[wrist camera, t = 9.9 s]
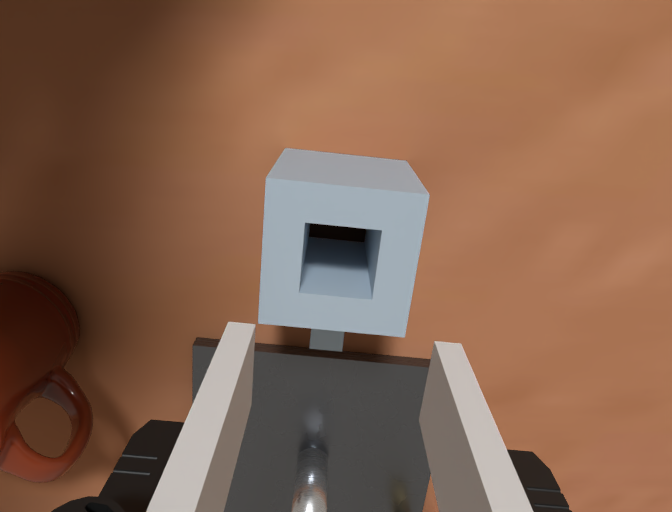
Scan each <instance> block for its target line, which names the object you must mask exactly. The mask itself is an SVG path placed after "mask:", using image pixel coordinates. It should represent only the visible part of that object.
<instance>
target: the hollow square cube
mask: <svg viewBox="0 0 672 512" xmlns="http://www.w3.org/2000/svg"><path fill="white" fill-rule="evenodd" d="M429 196H430V194H429V193H428V191H427V190H426V189H425V187H424V186H423V184H422V183H421V181H420V180H419V178H418V177H417V175H416V174H415V172H414V171H413V170H412V168H411V167H410V165H409V164H408V162H407V161H404V160H394V159H385V158H375V157H366V156H356V155H347V154H338V153H328V152H319V151H309V150H300V149H291V148H285V149H284V151H283V152H282V154H281V155H280V157H279V158H278V160H277V162H276V163H275V165H274V166H273V168H272V169H271V171H270V172H269V174H268V175H267V177H266V186H265V205H264V223H263V241H262V260H261V278H260V297H259V315H258V323H259V324H270V325H280V326H290V327H301V328H311V337H310V348H309V349H319V350H330V351H340V352H342V348H343V340H344V332H353V333H364V334H374V335H385V336H395V337H405V333H406V327H407V322H408V316H409V310H410V304H411V299H412V293H413V287H414V282H415V276H416V270H417V265H418V259H419V253H420V247H421V242H422V236H423V230H424V225H425V219H426V213H427V208H428V202H429ZM310 223H314V224H324V225H334V226H344V227H353V228H363V229H366V234H365V241H364V242H356V241H346V240H336V239H326V238H317V237H309V232H310Z"/></svg>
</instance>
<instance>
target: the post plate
mask: <svg viewBox="0 0 672 512" xmlns="http://www.w3.org/2000/svg"><path fill="white" fill-rule="evenodd" d="M219 342H220V340H219V339H208V338H198V337H197V338H196V340H195V342H194V344H193V402H194V400H195V398H196V395H197V393H198V391H199V388H200V386H201V384H202V381H203V379H204V377H205V375H206V372H207V370H208V368H209V365H210V363H211V361H212V358H213V356H214V354H215V351H216V349H217V347H218V345H219ZM430 361H431V359H420V358H410V357H399V356H388V355H378V354H367V353H357V352H346V351H342V352H340V351H330V350H319V349H309V348H304V347H293V346H283V345H272V344H261V343H255V346H254V365H253V385H252V405H251V408H250V412H249V416H248V420H247V424H246V428H245V431H244V435H243V439H242V443H241V447H240V451H239V455H238V458H237V462H236V466H235V470H234V474H233V478H232V481H231V485H230V489H229V493H228V497H227V501H226V505H225V508H224V512H422V510H423V506H424V501H425V497H426V492H427V488H428V483H429V479H430V474H431V473H430V468H429V464H428V459H427V454H426V450H425V445H424V441H423V436H422V432H421V427H420V423H419V416H420V411H421V406H422V401H423V396H424V391H425V386H426V381H427V376H428V371H429V366H430Z"/></svg>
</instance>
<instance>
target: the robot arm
mask: <svg viewBox="0 0 672 512" xmlns="http://www.w3.org/2000/svg"><path fill="white" fill-rule="evenodd" d="M255 326H256V324H248V323H237V322H228V324H227V326H226V328H225V331H224V333H223V335H222V338H221V340H220V342H219V345H218V347H217V349H216V351H215V354H214V356H213V358H212V361H211V363H210V365H209V368H208V370H207V372H206V375H205V377H204V379H203V381H202V384H201V386H200V388H199V391H198V393H197V395H196V398H195V400H194V402H193V405H192V407H191V409H190V411H189V414H188V416H187V418H186V421H185V423H183V422H172V421H161V420H150V421H149V422H148V423H146V424H145V425H144V426H143V427H142V428H140V429H139V430H138V431H137V432H136V433H134V434H133V435H132V437H131V439H130V441H129V443H128V444H127V446H126V448H125V450H124V451H123V453H122V457H120V459H119V460H118V462H117V464H116V466H115V468H114V471H113V473H111V475H110V477H109V478H108V480H107V482H106V484H105V485H104V487H103V489H102V491H101V493H100V494H99V496H98V497H89V496H88V497H84V498H80V499H76V500H72V501H69V502H68V503H66V504H64V505H62V506H60V507H58V508H56V509H54V510H53V511H52V512H224V508H225V505H226V501H227V497H228V493H229V489H230V485H231V481H232V478H233V474H234V470H235V466H236V462H237V458H238V455H239V451H240V447H241V443H242V439H243V435H244V431H245V428H246V424H247V420H248V416H249V412H250V408H251V405H252V385H253V365H254V346H255ZM419 423H420V427H421V432H422V436H423V441H424V445H425V450H426V454H427V459H428V464H429V468H430V473H431V477H432V482H433V486H434V491H435V495H436V500H437V504H438V509H439V512H572V511H571V510H569V505H568V503H567V501H566V499H565V497H564V495H563V494H561V492H560V488H559V486H558V484H557V482H556V480H555V478H554V476H553V474H552V472H551V470H550V469H549V468H548V467H547V466H546V465H545V464H544V463H543V462H542V461H541V460H540V459H539V458H538V457H537V456H536V455H535V454H534V453H533V452H529V451H518V450H507V449H506V447H505V445H504V442H503V440H502V438H501V435H500V433H499V431H498V428H497V426H496V424H495V421H494V419H493V417H492V414H491V412H490V410H489V407H488V405H487V403H486V400H485V398H484V396H483V394H482V391H481V389H480V387H479V384H478V382H477V380H476V377H475V375H474V373H473V370H472V368H471V366H470V363H469V361H468V359H467V356H466V354H465V352H464V349H463V347H462V345H461V344H460V343H449V342H439V341H434V346H433V351H432V356H431V361H430V366H429V371H428V376H427V381H426V386H425V391H424V396H423V401H422V406H421V411H420V416H419Z"/></svg>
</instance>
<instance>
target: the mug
mask: <svg viewBox="0 0 672 512" xmlns="http://www.w3.org/2000/svg"><path fill="white" fill-rule="evenodd" d="M79 335H80V329H79V322H78V318H77V315H76V312H75V310H74V308H73V306H72V304H71V303H70V301H69V300H68V298H67V297H66V296H65V295H64V294H63V293H62V292H61V291H60V290H59V289H58V288H57V287H56V286H54V285H53V284H51V283H50V282H48V281H46V280H45V279H43V278H41V277H38V276H36V275H33V274H29V273H25V272H18V271H6V272H0V470H2V471H4V472H7V473H10V474H13V475H15V476H18V477H20V478H22V479H25V480H28V481H31V482H38V483H42V482H50V481H54V480H56V479H58V478H60V477H62V476H63V475H64V474H65V473H67V472H68V471H69V470H70V469H71V468H72V466H73V465H74V464H75V463H76V462H77V460H78V459H79V457H80V456H81V454H82V453H83V451H84V449H85V448H86V446H87V443H88V441H89V439H90V436H91V432H92V427H93V414H92V408H91V405H90V403H89V401H88V399H87V397H86V396H85V394H84V393H83V391H82V390H81V388H80V386H79V385H78V383H77V382H76V381H75V379H74V378H73V377H72V376H71V375H70V374H69V373H68V372H67V371H66V370H65V369H64V366H65V365H66V363H67V361H68V360H69V358H70V357H71V355H72V353H73V351H74V348H75V346H76V344H77V342H78V339H79ZM39 397H42V398H46V399H49V400H51V401H53V402H55V403H57V404H58V405H60V406H61V407H62V408H63V409H64V410H65V411H66V412H67V414H68V415H69V417H70V420H71V424H72V432H71V437H70V440H69V442H68V444H67V446H66V448H65V450H64V452H63V454H62V455H61V456H59V457H57V458H50V457H46V456H43V455H41V454H39V453H37V452H35V451H34V450H33V449H31V448H30V447H29V446H28V445H27V444H26V442H25V441H24V439H23V437H22V435H21V433H20V431H19V429H18V427H17V426H16V424H15V418H16V416H17V415H18V414H19V413H20V411H21V410H22V409H23V408H24V407H25V406H26V405H27V404H29V403H30V402H31V401H32V400H34V399H36V398H39Z"/></svg>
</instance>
